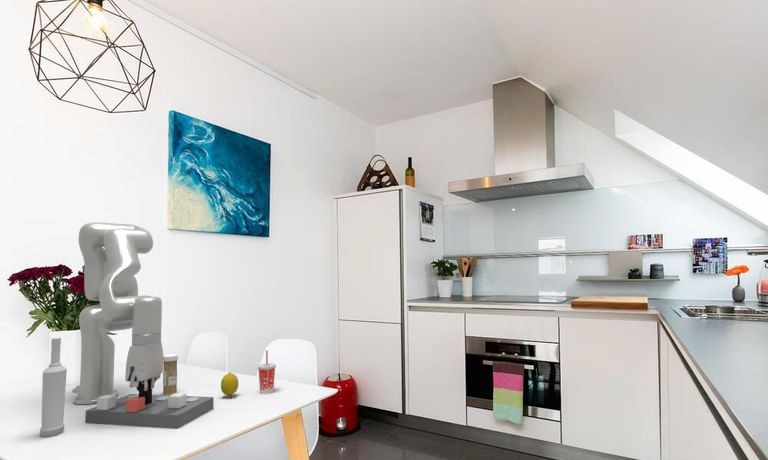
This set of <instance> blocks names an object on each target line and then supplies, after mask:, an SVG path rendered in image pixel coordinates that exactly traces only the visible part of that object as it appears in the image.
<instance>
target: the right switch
mask: <svg viewBox="0 0 768 460" xmlns="http://www.w3.org/2000/svg"><path fill="white" fill-rule="evenodd" d="M186 396H187V393H185V392H184V393H183V392H181V393H180V392H179V393H178V392H177V393H175V394H172V395H170V396H168V408H181V407H183V406H185V405H186Z"/></svg>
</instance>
